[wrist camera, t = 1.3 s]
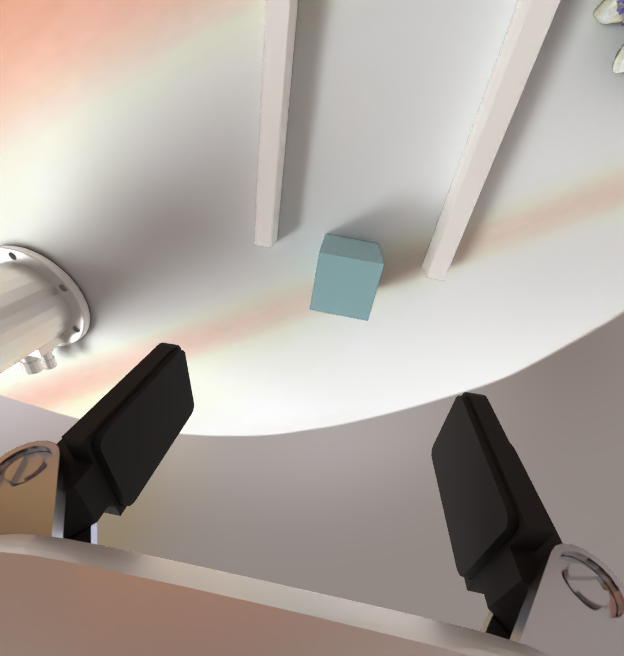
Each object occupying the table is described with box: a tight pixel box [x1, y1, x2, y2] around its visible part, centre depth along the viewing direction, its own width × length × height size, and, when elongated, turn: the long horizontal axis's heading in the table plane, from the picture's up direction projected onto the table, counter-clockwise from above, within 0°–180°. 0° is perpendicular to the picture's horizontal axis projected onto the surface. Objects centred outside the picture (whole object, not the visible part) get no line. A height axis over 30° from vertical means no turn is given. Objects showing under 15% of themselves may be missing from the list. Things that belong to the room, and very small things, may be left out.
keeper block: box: [310, 234, 384, 321], centre depth 26 cm, size 5×5×6 cm
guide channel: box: [254, 0, 560, 281], centre depth 20 cm, size 24×17×5 cm
